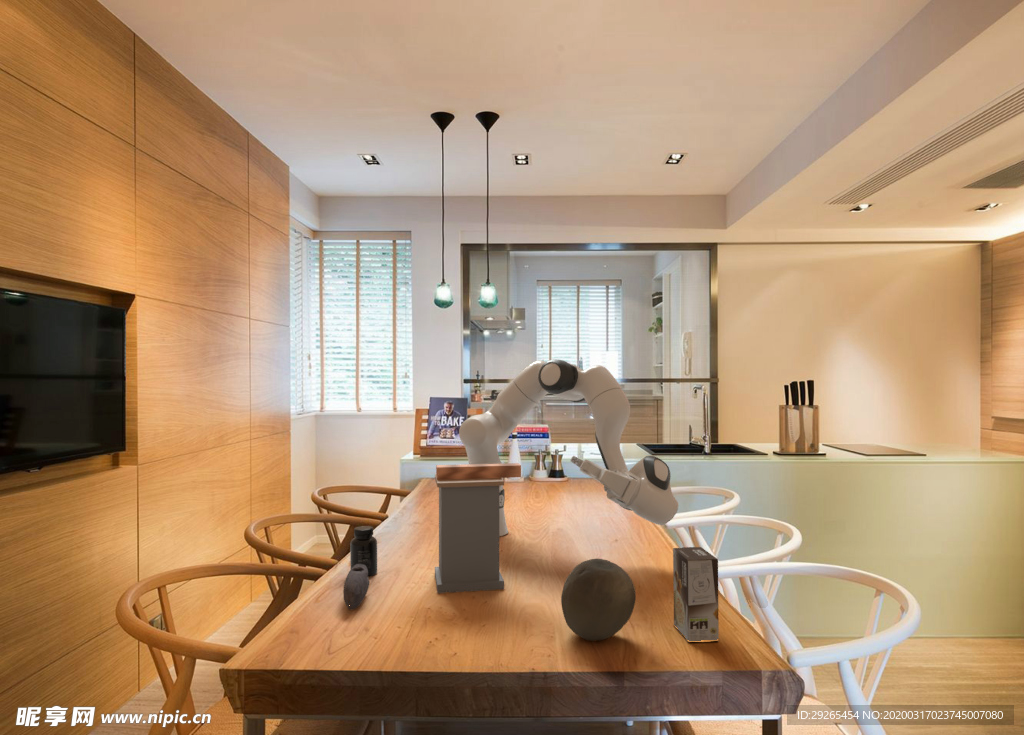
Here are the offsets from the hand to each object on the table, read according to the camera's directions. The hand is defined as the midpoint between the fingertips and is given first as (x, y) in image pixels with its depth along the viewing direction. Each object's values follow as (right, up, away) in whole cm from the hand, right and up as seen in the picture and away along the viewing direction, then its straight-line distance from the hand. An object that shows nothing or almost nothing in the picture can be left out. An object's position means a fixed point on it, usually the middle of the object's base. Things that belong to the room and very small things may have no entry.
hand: (576, 461), depth 161 cm
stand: (-28, -29, -5) cm, 41 cm away
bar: (-25, -3, -4) cm, 26 cm away
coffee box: (+20, -29, -36) cm, 51 cm away
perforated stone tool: (-52, -30, -19) cm, 63 cm away
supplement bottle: (-55, -30, +1) cm, 63 cm away
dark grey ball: (0, -29, -38) cm, 48 cm away
